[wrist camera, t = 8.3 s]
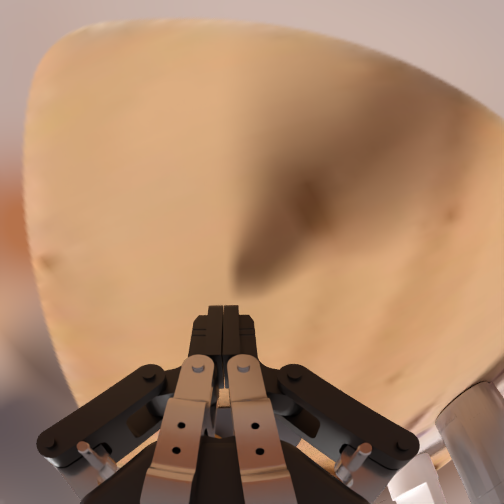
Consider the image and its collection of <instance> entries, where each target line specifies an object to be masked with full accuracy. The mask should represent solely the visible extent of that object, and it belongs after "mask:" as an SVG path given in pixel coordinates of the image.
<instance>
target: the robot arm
mask: <svg viewBox="0 0 504 504" xmlns="http://www.w3.org/2000/svg"><path fill="white" fill-rule="evenodd" d="M224 377H225V388H229V398H230V408H231V417H232V426H233V434H234V436H230V437H225V438H215V427H216V419H217V410H218V398H219V389H222V388H224ZM274 415H275V417H276V418H277V419H278V420H279V421H281V422H282V423H283V424H285V425H286V426H287V427H288V428H290V429H291V430H292V431H293V432H295V433H296V434H297V435H299V436H300V437H301V438H303V439H304V440H305V441H307V442H308V443H309V444H311V445H312V446H313V447H315V448H316V449H318V450H319V451H320V452H322V453H323V454H325V455H326V456H327V457H329V458H330V459H332V460H333V461H335V462H336V463H335V467H334V469H335V473H336V475H337V476H338V477H339V478H340V479H341V480H342V481H343V483H344V484H343V483H342V482H341V481H339V480H338V479H337V478H335V477H334V476H332V475H331V474H330V473H328V472H327V471H326V470H324V469H323V468H322V467H321V466H319V465H318V464H317V463H315V462H314V461H313V460H312V459H310V458H309V457H308V456H307V455H305V454H304V453H303V452H302V451H301V450H299V449H298V448H297V447H295V446H294V445H292V444H290V443H288V442H285V441H283V440H280V439H279V434H278V430H277V426H276V422H275V418H274ZM435 425H436V427H437V429H438V431H439V433H440V435H441V437H442V439H443V441H444V443H445V445H446V447H447V449H448V452H449V454H450V456H451V458H452V460H453V462H454V464H455V466H456V469H457V471H458V473H459V476H460V478H461V480H462V482H463V485H464V487H465V490H466V492H467V494H468V497H469V499H470V502H471V504H504V398H503V396H502V395H501V393H500V392H499V391H498V389H497V388H496V386H495V385H494V383H493V382H491V383H488V382H486V381H484V382H481V383H478V384H476V385H475V386H473V387H471V388H470V389H468V390H467V391H465V392H464V393H463V394H461V395H460V396H459V397H458V398H456V399H455V400H454V401H453V402H452V403H451V404H450V405H448V406H447V407H446V408H445V409H444V410H443V412H442V413H441V414H440V415H439V416H438V418H437V419H436V422H435ZM159 429H160V432H159V436H158V440H157V441H155V442H153V443H151V444H150V445H148V446H147V447H145V448H144V449H143V450H142V451H141V452H140V453H138V454H137V455H136V456H135V457H134V458H132V459H131V460H130V461H129V462H128V463H126V464H125V465H124V466H123V467H121V468H120V469H119V470H118V471H116V470H117V465H116V463H117V462H118V461H120V460H121V459H122V458H124V457H125V456H126V455H128V454H129V453H130V452H131V451H133V450H134V449H135V448H137V447H138V446H139V445H140V444H142V443H143V442H144V441H146V440H147V439H148V438H149V437H151V436H152V435H153V434H154V433H156V432H157V431H158V430H159ZM36 444H37V449H38V451H39V453H40V454H41V455H42V456H44V457H45V458H46V459H47V460H48V461H49V463H50V464H51V465H52V466H54V467H55V468H56V469H57V470H58V471H59V472H60V473H61V475H62V476H63V477H64V479H65V480H66V482H67V483H68V484H69V486H70V487H71V488H72V490H73V491H74V492H75V494H76V495H77V496H78V497H79V499H80V500H81V502H80V504H372V503H373V502H374V501H375V500H376V498H377V497H378V496H379V495H380V494H381V492H382V491H383V490H384V489H385V487H386V486H387V485H388V483H389V482H390V481H391V479H392V478H393V477H394V475H396V474H397V473H398V472H399V471H400V470H401V469H402V468H403V467H404V466H405V465H406V464H407V463H409V462H410V461H411V460H412V459H413V458H414V457H415V456H416V454H417V453H418V451H419V447H420V444H419V440H418V438H417V437H416V436H415V435H414V434H413V433H411V432H409V431H408V430H406V429H404V428H402V427H401V426H399V425H397V424H395V423H394V422H392V421H390V420H388V419H387V418H385V417H383V416H381V415H380V414H378V413H376V412H375V411H373V410H371V409H370V408H368V407H366V406H365V405H363V404H361V403H360V402H358V401H357V400H355V399H353V398H352V397H350V396H349V395H347V394H345V393H344V392H342V391H341V390H339V389H337V388H336V387H334V386H333V385H331V384H330V383H328V382H327V381H325V380H323V379H322V378H320V377H319V376H317V375H316V374H314V373H313V372H311V371H310V370H308V369H307V368H305V367H304V366H301V365H298V364H289V365H286V366H284V367H282V368H281V369H280V370H277V369H272V368H269V367H266V366H265V365H263V364H262V363H261V362H260V361H259V359H258V356H257V347H256V337H255V328H254V321H253V319H252V318H251V317H250V315H239V310H238V305H224V310H223V306H209V308H208V315H199V316H198V317H197V318H196V319H195V321H194V323H193V330H192V336H191V341H190V347H189V354H188V358H187V359H185V360H184V362H183V364H182V366H180V367H178V368H176V369H171V370H167V371H164V370H163V369H162V368H161V367H160V366H158V365H154V364H148V365H144V366H141V367H140V368H138V369H137V370H135V371H134V372H132V373H131V374H130V375H128V376H127V377H125V378H124V379H122V380H121V381H119V382H118V383H116V384H115V385H113V386H112V387H110V388H109V389H108V390H106V391H105V392H103V393H102V394H100V395H99V396H97V397H96V398H94V399H93V400H91V401H90V402H88V403H87V404H85V405H84V406H82V407H81V408H79V409H77V410H76V411H74V412H73V413H71V414H70V415H68V416H67V417H65V418H64V419H62V420H61V421H59V422H57V423H56V424H54V425H53V426H52V427H50V428H48V429H47V430H45V431H43V432H42V433H41V434H40V435H39V436H38V439H37V443H36Z"/></svg>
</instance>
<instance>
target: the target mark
mask: <svg viewBox="0 0 504 504" xmlns="http://www.w3.org/2000/svg"><path fill="white" fill-rule="evenodd" d="M274 418H275V422H276V426H277V430H278V434H279V439H280V440H283V441H285V442H288V443H290V444H292V445H294V446H295V447H296V446H297V445H298V444H299V442H300V440H301V437H300V436H299V435H297V434H296V433H295V432H293V431H292V430H291V429H290V428H288V427H287V426H286V425H285V424H283V423H282V422H281V421H279V420H278V419H277V418H276V417H275V415H274ZM215 434H216V435H218V436H220V437H222V438H225V437H230V436H234V434H233V426H232V417H231V408H230V407H225V408H218V410H217V419H216V427H215Z"/></svg>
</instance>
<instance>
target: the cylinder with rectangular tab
mask: <svg viewBox="0 0 504 504" xmlns="http://www.w3.org/2000/svg"><path fill="white" fill-rule="evenodd" d="M438 478H439V477H438V475H437V472H436V470H435V468H434V465H433V463H432V461H431V458H430V456H429V454H428V453H423V454H420V455H417V456H415V457H414V458H413V459H412V460H411V461H410V462H409V463H407V464H406V465H405V466H404V467H403V468H402V469H401V470H400V471H399V472H398V473H397V474H396V475H394V477H393V478H392V479H391V481H390V482H389V483H388V488H389V491H390V494H391V497H392V500H393V501H395V500H396V503H397V504H446V503H447V501H446V499H445V497H444V494H443V491H442V489H441V486H440V484H439V481H438Z"/></svg>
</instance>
